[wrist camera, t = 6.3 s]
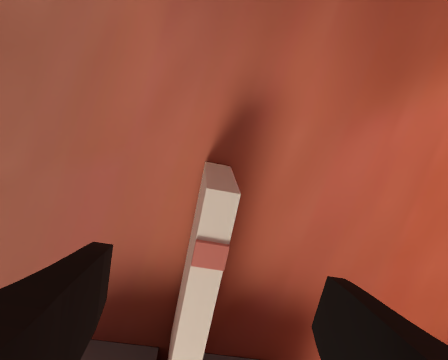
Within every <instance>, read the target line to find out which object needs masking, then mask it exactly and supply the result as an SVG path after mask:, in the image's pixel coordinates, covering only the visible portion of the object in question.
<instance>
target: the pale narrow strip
mask: <svg viewBox="0 0 448 360" xmlns="http://www.w3.org/2000/svg"><path fill="white" fill-rule="evenodd" d="M240 196H241V193H240V191H239V188H238V185H237V182H236V180H235V177H234V174H233V172H232V169H231V166H226V165H221V164H215V163H210V162H205V165H204V170H203V175H202V180H201V185H200V190H199V195H198V200H197V206H196V211H195V216H194V221H193V226H192V231H191V236H190V241H189V246H188V251H187V256H186V261H185V266H184V271H183V276H182V281H181V287H180V292H179V297H178V302H177V307H176V312H175V317H174V322H173V327H172V332H171V339H170V347H169V355H168V360H203V355H204V351H205V347H206V342H207V338H208V334H209V329H210V325H211V321H212V317H213V312H214V308H215V304H216V299H217V295H218V291H219V286H220V282H221V278H222V273H223V271H224V269H225V265H226V261H227V257H228V252H229V248H230V246H229V243H230V239H231V235H232V230H233V226H234V222H235V217H236V213H237V209H238V205H239V200H240Z"/></svg>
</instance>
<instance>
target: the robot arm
mask: <svg viewBox="0 0 448 360" xmlns="http://www.w3.org/2000/svg"><path fill="white" fill-rule="evenodd" d="M112 250H113V245H112V244H105V243H98V242H92V243H90V244H88V245H86V246H84V247H83V248H81V249H79V250H77V251H76V252H74V253H72V254H70V255H68V256H67V257H65V258H63V259H61V260H59V261H58V262H56V263H54V264H52V265H50V266H48V267H46V268H44V269H42V270H40V271H38V272H36V273H34V274H32V275H30V276H28V277H26V278H24V279H22V280H19V281H17V282H15V283H13V284H11V285H8V286H6V287H3V288H1V289H0V360H81V358H82V356H83V354H84V352H85V350H86V348H87V346H88V344H89V342H90V340H91V338H92V336H93V334H94V332H95V330H96V327H97V325H98V322H99V319H100V316H101V314H102V311H103V308H104V305H105V302H106V298H107V290H108V282H109V274H110V266H111V258H112ZM312 330H313V334H314V338H315V342H316V345H317V349H318V352H319V356H320V358H321V360H448V345H446V344H445V343H443V342H441V341H440V340H438V339H436V338H435V337H433V336H432V335H430V334H429V333H427V332H425V331H424V330H422V329H421V328H419V327H417V326H416V325H414V324H413V323H411V322H410V321H408V320H407V319H405V318H404V317H402V316H401V315H399V314H398V313H396V312H395V311H393V310H392V309H390V308H389V307H388V306H386V305H385V304H383V303H382V302H380V301H379V300H377V299H376V298H375V297H373V296H372V295H370V294H369V293H367V292H366V291H364V290H363V289H361V288H360V287H358V286H356V285H355V284H353V283H351V282H350V281H348V280H346V279H343V278H336V277H329V276H327V279H326V283H325V286H324V289H323V292H322V295H321V298H320V302H319V305H318V308H317V311H316V314H315V317H314V321H313V324H312Z"/></svg>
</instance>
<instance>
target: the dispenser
mask: <svg viewBox="0 0 448 360" xmlns="http://www.w3.org/2000/svg"><path fill="white" fill-rule="evenodd" d="M157 354H158V348H157V347H149V346H140V345H132V344H124V343H115V342H107V341H98V340H90V342H89V344H88V346H87V348H86V350H85V352H84V354H83V356H82V358H81V360H157ZM203 360H257V359H249V358H240V357H232V356H224V355H215V354H207V353H204V355H203Z"/></svg>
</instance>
